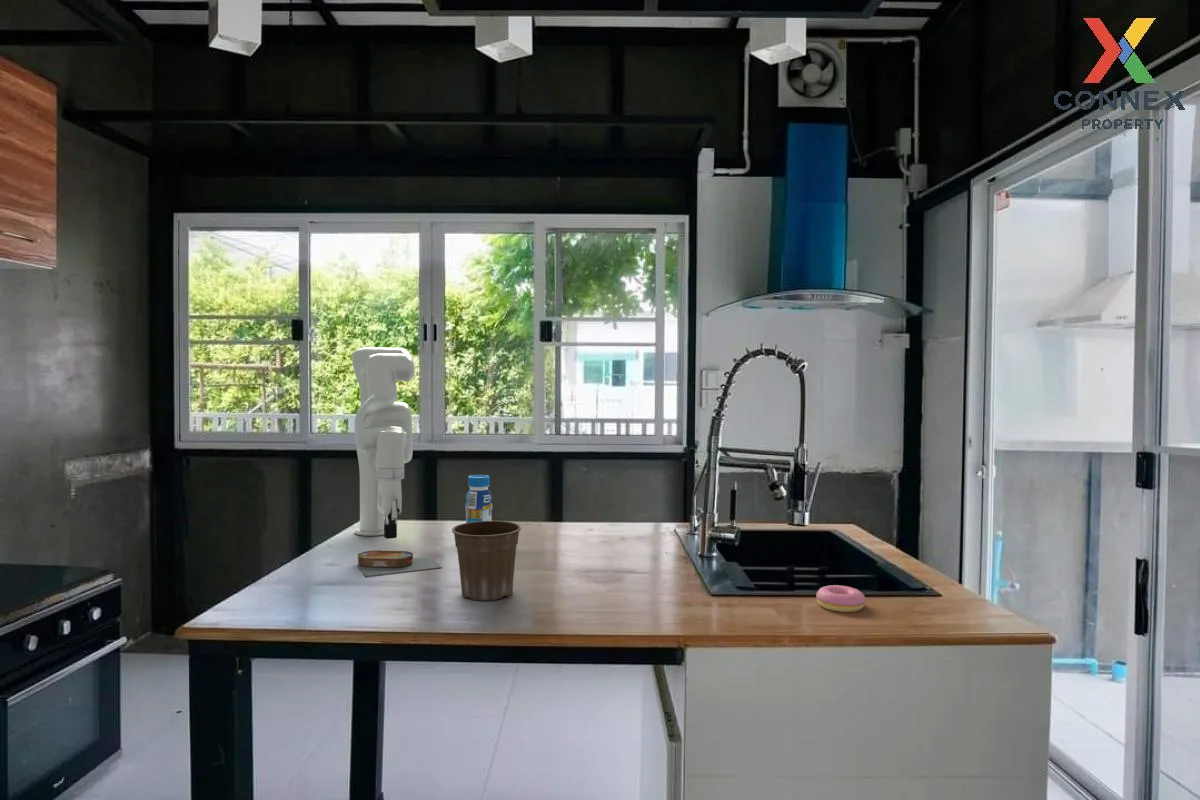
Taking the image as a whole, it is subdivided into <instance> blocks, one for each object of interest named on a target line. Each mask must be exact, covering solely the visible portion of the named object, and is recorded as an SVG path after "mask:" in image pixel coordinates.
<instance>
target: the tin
mask: <svg viewBox="0 0 1200 800" xmlns="http://www.w3.org/2000/svg"><path fill="white" fill-rule="evenodd" d="M413 559H414V553H413V552H412V551H408V550H406V551H405V550H379V549H378V550H374V549H373V550H368V551H363V552H360V553H357V563H358V564H357V565H360V566H364V567H384V568H398V567H405V566H408V565H410V564H411V563H412V562H413Z"/></svg>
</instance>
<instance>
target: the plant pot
mask: <svg viewBox="0 0 1200 800" xmlns="http://www.w3.org/2000/svg"><path fill="white" fill-rule="evenodd" d="M521 529H522V527H521V525H520V524H517V523H515V522H512V521H505V520H492V521H477V522H469V523H466V522H465V523H461V524H457V525H455V526H453V527H452V528H451V531H452V532H451V533H453V535H454V542H455V547H456V551H457V558H458V565H459V566H458V567H459V568H458V569H459V576H460V587H461V595H462V597H464V598H466V599H467V598H469V599H470V600H471V601H472V600H473V601H481V602H486V601H487V602H489V600H491V601H495V600H496V601H498V600H501V599H502V598H503V597H506V598H507V597H509V596H511V595H512V593H513V591H514V576H515V566H516V565H515V564H516V553H517V545H518V544H519V536H520V535H519V534H520V531H521Z"/></svg>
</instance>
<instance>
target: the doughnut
mask: <svg viewBox="0 0 1200 800" xmlns="http://www.w3.org/2000/svg"><path fill="white" fill-rule="evenodd" d="M815 596H816V597H815V598H816V601H817V603H818V605H819V606H820V607H822V608H824V609H826V610H828V611H833V612H839V613H840V612H841V613H854V612H858V611H860V610H862V609H863V608H864V607H865V602H866V596H865V594H864V593H863V592H862V591H861V590H859V589H858V588H854V587H851V586H847V585H839V584H837V585H836V584H833V585H831V584H830V585H826V586H822V587H820V588H819V589H818V590H817V591H816V594H815Z"/></svg>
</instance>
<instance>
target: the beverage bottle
mask: <svg viewBox="0 0 1200 800" xmlns="http://www.w3.org/2000/svg"><path fill="white" fill-rule="evenodd" d="M490 478H491V477H490V475H486V474H472V475H468V477H467V485H468V487H469V489H468V491H467V493H466V495H465V500H466V502H465V504H464V505H465V507H464V508H465V523H469V522H477V521H493V520H492V517H493V516H492V510H493V503H492V499H493V495H492V492H491V491H490V489H489V487H490V486H491V485H490V483H491V482H490V481H491V480H490Z"/></svg>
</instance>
